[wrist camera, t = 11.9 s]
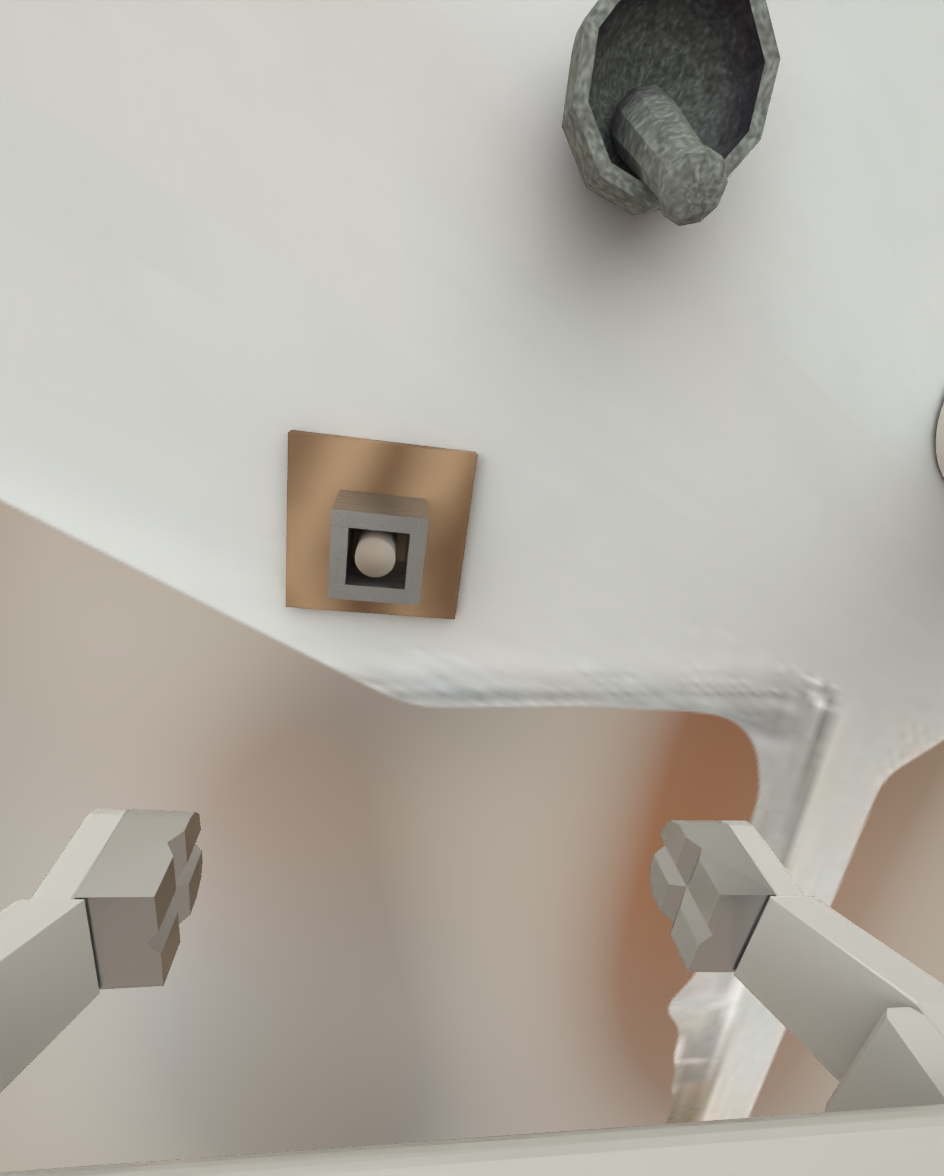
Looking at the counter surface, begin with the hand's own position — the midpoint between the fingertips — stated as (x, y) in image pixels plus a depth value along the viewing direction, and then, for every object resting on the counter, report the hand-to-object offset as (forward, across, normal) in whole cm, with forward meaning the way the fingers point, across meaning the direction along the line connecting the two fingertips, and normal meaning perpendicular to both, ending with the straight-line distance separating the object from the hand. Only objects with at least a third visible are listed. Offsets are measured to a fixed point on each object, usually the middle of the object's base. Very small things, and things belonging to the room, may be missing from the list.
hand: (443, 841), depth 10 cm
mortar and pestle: (+31, -10, -20) cm, 39 cm away
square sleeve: (+30, +2, +4) cm, 30 cm away
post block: (+31, +2, +4) cm, 31 cm away
